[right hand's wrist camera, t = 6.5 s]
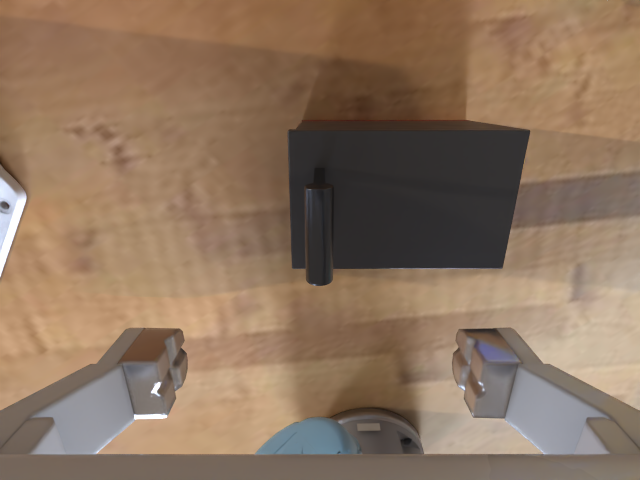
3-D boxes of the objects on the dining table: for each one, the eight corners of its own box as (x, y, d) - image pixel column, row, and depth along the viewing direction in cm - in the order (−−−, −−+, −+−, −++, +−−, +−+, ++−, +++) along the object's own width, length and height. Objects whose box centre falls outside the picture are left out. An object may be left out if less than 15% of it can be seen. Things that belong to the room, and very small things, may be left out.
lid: (292, 264, 28) (283, 321, 21) (288, 129, 24) (275, 142, 17) (497, 264, 28) (558, 321, 21) (523, 128, 24) (608, 141, 17)
